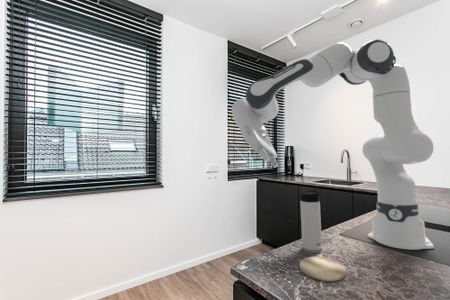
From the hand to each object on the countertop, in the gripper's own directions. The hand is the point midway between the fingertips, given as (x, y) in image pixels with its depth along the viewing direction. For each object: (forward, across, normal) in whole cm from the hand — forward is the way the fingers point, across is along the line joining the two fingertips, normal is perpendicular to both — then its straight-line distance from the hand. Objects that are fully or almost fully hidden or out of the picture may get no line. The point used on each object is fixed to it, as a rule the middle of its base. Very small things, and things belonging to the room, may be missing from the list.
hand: (271, 163), depth 82 cm
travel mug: (+30, +12, +5) cm, 32 cm away
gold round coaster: (+35, -1, +2) cm, 35 cm away
